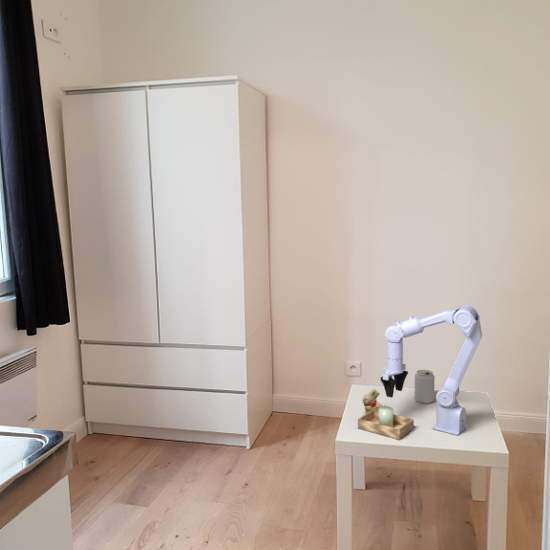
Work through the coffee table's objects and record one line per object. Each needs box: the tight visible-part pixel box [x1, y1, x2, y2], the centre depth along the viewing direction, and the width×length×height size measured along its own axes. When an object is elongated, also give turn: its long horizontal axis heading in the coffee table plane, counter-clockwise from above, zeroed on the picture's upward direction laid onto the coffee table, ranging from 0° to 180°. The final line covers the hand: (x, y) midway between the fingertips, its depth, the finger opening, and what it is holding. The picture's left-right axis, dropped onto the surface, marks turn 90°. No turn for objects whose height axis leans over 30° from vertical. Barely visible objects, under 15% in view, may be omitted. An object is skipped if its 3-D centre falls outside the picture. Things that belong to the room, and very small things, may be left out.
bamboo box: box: [357, 409, 415, 441], centre depth 205 cm, size 16×11×4 cm
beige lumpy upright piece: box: [362, 388, 384, 415], centre depth 219 cm, size 6×8×10 cm
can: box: [413, 369, 436, 405], centre depth 230 cm, size 8×8×12 cm
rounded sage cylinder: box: [379, 406, 394, 428], centre depth 206 cm, size 5×5×6 cm
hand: (394, 393), depth 212 cm, fingers open, 7 cm apart
